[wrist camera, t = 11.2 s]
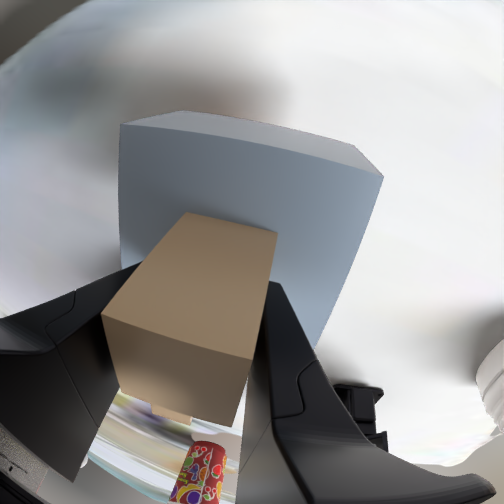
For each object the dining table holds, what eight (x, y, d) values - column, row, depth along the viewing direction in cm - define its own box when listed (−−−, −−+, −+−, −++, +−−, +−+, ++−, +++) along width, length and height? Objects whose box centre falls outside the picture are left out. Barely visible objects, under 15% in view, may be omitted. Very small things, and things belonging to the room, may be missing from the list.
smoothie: (188, 432, 43) (155, 532, 26) (236, 445, 43) (211, 547, 26) (187, 447, 47) (159, 533, 30) (229, 458, 47) (207, 546, 30)
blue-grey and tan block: (309, 287, 17) (299, 470, 8) (170, 253, 17) (71, 400, 8) (353, 145, 13) (459, 272, 4) (183, 110, 13) (-6, 169, 4)
